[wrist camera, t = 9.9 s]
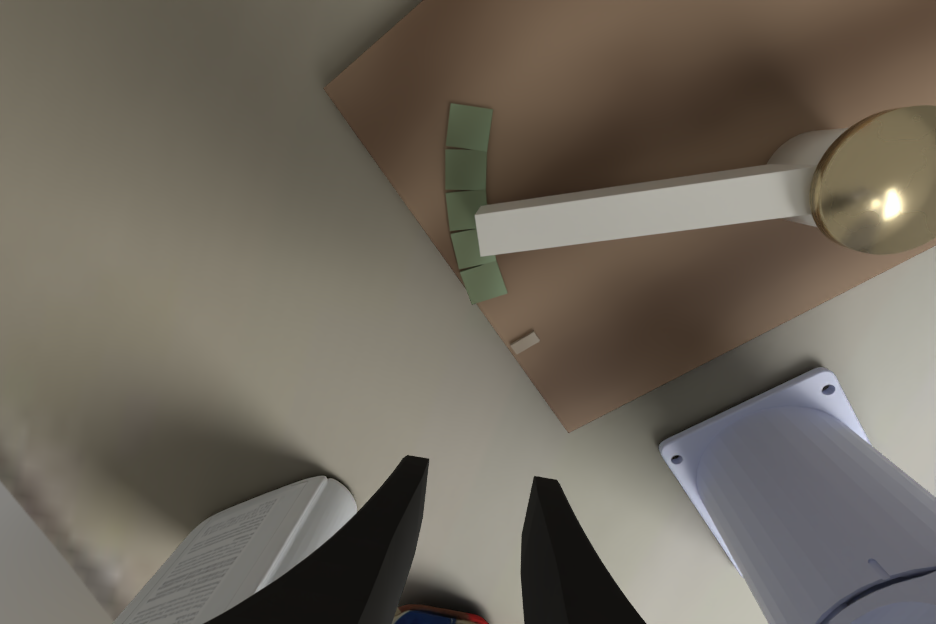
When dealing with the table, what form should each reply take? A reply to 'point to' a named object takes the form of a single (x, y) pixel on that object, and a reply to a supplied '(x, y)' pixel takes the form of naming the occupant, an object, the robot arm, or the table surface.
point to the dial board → (628, 162)
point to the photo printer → (241, 552)
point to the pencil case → (433, 616)
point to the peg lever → (757, 194)
